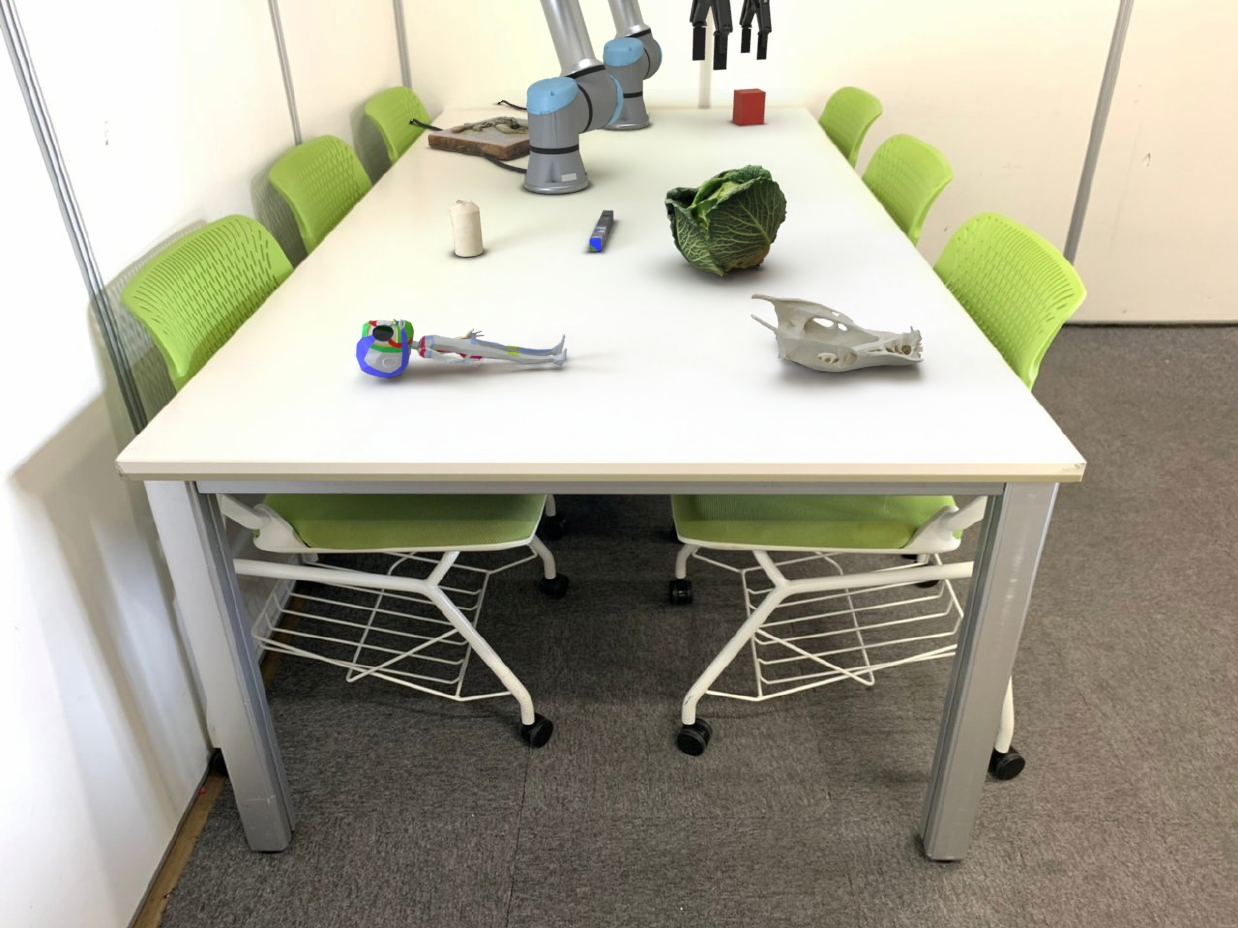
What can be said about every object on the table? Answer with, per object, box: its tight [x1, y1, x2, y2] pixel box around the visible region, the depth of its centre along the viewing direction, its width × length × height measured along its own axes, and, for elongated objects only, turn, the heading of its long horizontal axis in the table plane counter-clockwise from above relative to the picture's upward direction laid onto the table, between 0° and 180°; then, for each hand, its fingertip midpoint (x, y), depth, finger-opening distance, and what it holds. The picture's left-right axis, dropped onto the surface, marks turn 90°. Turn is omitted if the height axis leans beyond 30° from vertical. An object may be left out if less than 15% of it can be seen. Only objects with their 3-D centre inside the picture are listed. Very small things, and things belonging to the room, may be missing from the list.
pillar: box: [588, 209, 615, 252], centre depth 182 cm, size 2×2×20 cm
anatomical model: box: [750, 293, 925, 373], centre depth 129 cm, size 15×9×25 cm
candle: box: [449, 199, 484, 258], centre depth 172 cm, size 6×6×10 cm
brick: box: [732, 87, 767, 127], centre depth 270 cm, size 8×7×9 cm
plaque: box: [427, 115, 530, 161], centre depth 252 cm, size 30×7×30 cm
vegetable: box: [664, 164, 788, 278], centre depth 161 cm, size 20×19×20 cm
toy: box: [353, 318, 568, 379], centre depth 130 cm, size 10×8×30 cm
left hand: (708, 65), depth 192 cm, fingers open, 13 cm apart
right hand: (753, 56), depth 261 cm, fingers open, 13 cm apart
